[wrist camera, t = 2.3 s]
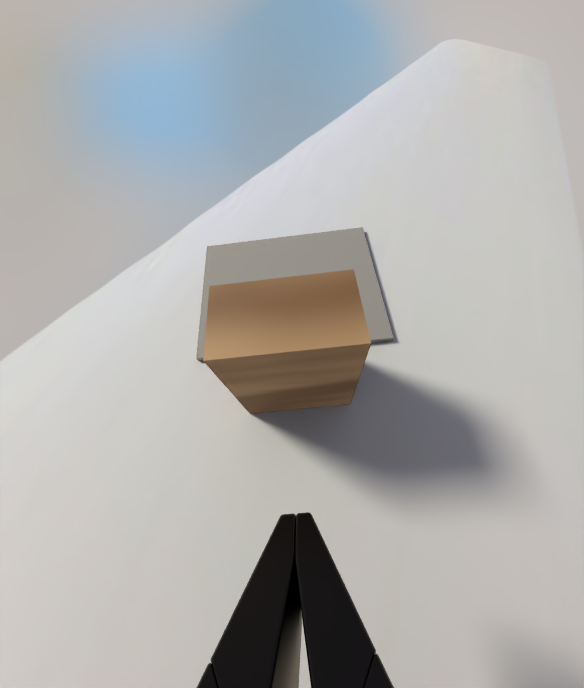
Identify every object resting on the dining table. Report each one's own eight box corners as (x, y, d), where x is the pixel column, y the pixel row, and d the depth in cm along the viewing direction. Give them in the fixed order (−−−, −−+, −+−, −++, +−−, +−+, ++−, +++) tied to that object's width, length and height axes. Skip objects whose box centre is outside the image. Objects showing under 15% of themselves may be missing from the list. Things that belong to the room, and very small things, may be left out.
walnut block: (350, 404, 19) (371, 343, 12) (249, 413, 20) (203, 360, 12) (341, 352, 21) (353, 269, 13) (249, 361, 22) (209, 286, 14)
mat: (392, 340, 21) (393, 337, 21) (198, 360, 22) (196, 358, 22) (362, 230, 27) (362, 227, 27) (208, 249, 28) (207, 246, 27)
